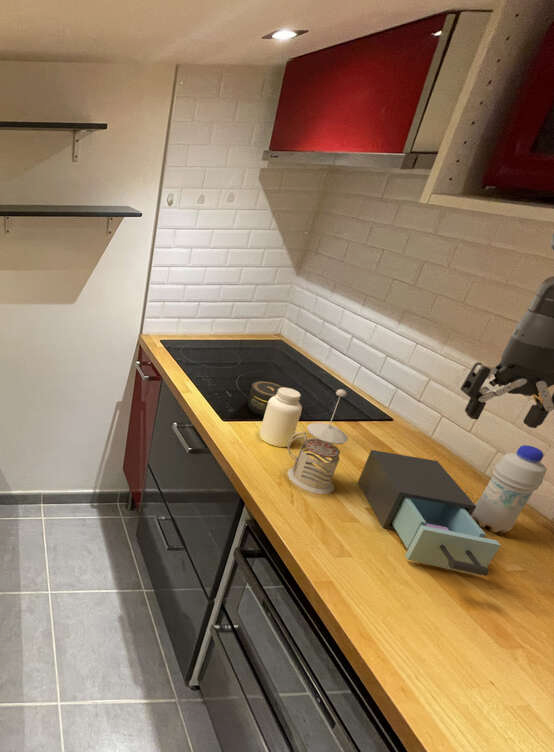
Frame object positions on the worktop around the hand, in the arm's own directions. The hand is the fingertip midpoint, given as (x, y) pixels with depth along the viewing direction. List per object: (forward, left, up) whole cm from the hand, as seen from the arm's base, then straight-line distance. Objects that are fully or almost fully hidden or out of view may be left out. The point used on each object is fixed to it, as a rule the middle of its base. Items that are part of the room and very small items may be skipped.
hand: (500, 421), depth 81 cm
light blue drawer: (+4, +6, -27) cm, 28 cm away
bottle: (-12, -7, -28) cm, 32 cm away
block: (+4, +6, -26) cm, 27 cm away
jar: (+26, -43, -28) cm, 58 cm away
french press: (+22, -11, -28) cm, 37 cm away
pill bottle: (+26, -27, -28) cm, 47 cm away
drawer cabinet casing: (+4, -6, -28) cm, 29 cm away
